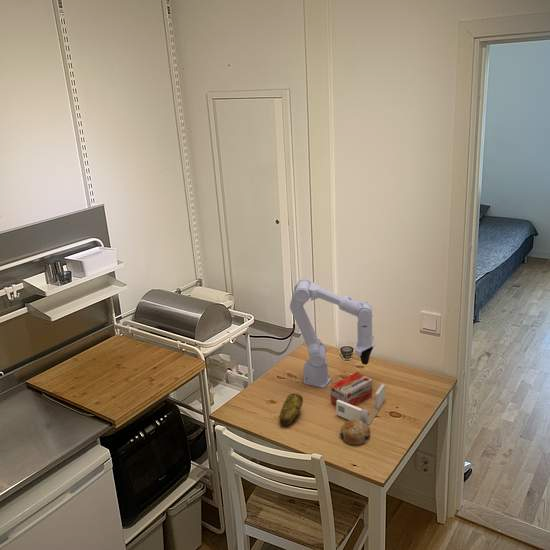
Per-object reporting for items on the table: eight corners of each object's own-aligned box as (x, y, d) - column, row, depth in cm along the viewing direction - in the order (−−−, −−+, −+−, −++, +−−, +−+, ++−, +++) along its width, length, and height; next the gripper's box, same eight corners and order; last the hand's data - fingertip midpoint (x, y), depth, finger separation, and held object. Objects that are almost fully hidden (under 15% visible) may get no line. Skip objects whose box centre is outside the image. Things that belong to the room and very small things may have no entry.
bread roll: (357, 456, 199) (366, 441, 195) (332, 438, 202) (341, 423, 198) (368, 440, 207) (378, 426, 203) (345, 423, 210) (353, 408, 206)
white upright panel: (360, 427, 208) (360, 411, 206) (380, 398, 225) (380, 382, 223) (366, 428, 207) (366, 412, 205) (386, 399, 224) (386, 384, 222)
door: (360, 424, 209) (360, 410, 207) (336, 414, 216) (336, 400, 213) (362, 423, 210) (362, 409, 208) (338, 413, 216) (338, 399, 214)
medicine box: (345, 412, 218) (345, 393, 215) (330, 403, 224) (330, 385, 221) (372, 396, 227) (373, 378, 224) (357, 388, 233) (357, 371, 230)
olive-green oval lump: (270, 421, 215) (269, 402, 212) (294, 405, 224) (293, 388, 221) (287, 429, 210) (286, 410, 207) (310, 413, 218) (309, 395, 215)
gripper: (367, 342, 220) (368, 374, 225) (380, 327, 232) (380, 357, 236) (350, 339, 223) (351, 370, 228) (364, 324, 235) (364, 354, 240)
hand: (365, 363), depth 233 cm, fingers closed
